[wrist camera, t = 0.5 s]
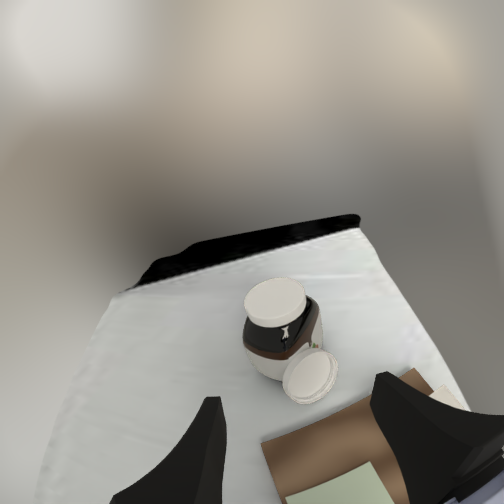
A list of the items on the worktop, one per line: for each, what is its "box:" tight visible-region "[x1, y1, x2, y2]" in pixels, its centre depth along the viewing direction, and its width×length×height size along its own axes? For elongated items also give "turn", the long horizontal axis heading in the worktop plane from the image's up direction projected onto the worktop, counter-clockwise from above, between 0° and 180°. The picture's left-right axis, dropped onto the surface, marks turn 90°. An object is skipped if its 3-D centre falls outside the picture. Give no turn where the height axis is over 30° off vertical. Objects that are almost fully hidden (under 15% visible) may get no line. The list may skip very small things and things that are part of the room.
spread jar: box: [243, 277, 338, 404], centre depth 31 cm, size 12×11×12 cm
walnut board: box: [261, 368, 434, 504], centre depth 18 cm, size 18×20×1 cm
